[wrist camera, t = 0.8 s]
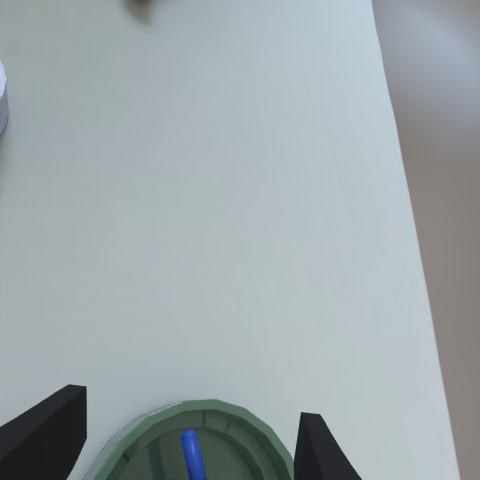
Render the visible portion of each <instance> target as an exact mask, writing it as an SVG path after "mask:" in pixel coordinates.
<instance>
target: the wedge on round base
mask: <svg viewBox="0 0 480 480" xmlns="http://www.w3.org/2000/svg"><path fill="white" fill-rule="evenodd" d="M7 119H8V102H7V90H6V78H5V72H4V69H3V66H2V64H1V62H0V134H1V133H2V131H3V129H4V128H5V126H6V123H7Z"/></svg>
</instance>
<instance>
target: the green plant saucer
mask: <svg viewBox="0 0 480 480" xmlns="http://www.w3.org/2000/svg"><path fill="white" fill-rule="evenodd" d="M188 429H191V430H194V431H195V432H196V434H197V437H198V442H199V446H200V451H201V455H202V460H203V464H204V469H205V473H206V478H207V480H294V462H293V459H292V457H291V454H290V453H289V452H288V450H287V449H286V448H285V446H284V445H283V443H282V442H281V441H280V439H279V438H278V436H277V435H276V434H275V432H274V431H273V430H272V428H270V426H268V425H267V424H266V423H264V422H263V421H262V420H260V419H259V418H258V417H256V416H255V415H254V414H252V413H251V412H249V411H248V410H247V409H245V408H243V407H240V406H236V405H233V404H230V403H226V402H223V401H220V400H217V399H207V400H191V401H181V402H177V403H173V404H169V405H166V406H163V407H161V408H159V409H156V410H154V411H152V412H149V413H147V414H145V415H142V416H140V417H137V418H136V419H135V420H133V421H132V422H131V423H130V424H129V425H127V426H126V427H125V428H124V429H123V430H122V431H120V432H119V433H118V434H117V435H116V436H114V437H113V438H112V439H111V440H110V441H109V442H108V443H107V444H106V446H105V447H104V448H103V450H102V451H101V453H100V454H99V456H98V457H97V459H96V460H95V462H94V463H93V465H92V466H91V468H90V469H89V471H88V472H87V474H86V475H85V477H84V479H83V480H189V475H188V470H187V465H186V461H185V456H184V451H183V446H182V442H181V436H182V434H183V432H184V431H186V430H188Z"/></svg>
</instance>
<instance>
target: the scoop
mask: <svg viewBox="0 0 480 480" xmlns="http://www.w3.org/2000/svg"><path fill="white" fill-rule="evenodd" d="M181 442H182V446H183V451H184V456H185V461H186V465H187V470H188V475H189V480H207V478H206V473H205V469H204V464H203V460H202V455H201V451H200V446H199V442H198V437H197V434H196V432H195V431H194V430H191V429H188V430H186V431H184V432H183V434H182V436H181Z"/></svg>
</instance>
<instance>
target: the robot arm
mask: <svg viewBox="0 0 480 480" xmlns="http://www.w3.org/2000/svg"><path fill="white" fill-rule="evenodd" d="M86 439H87V390H86V386H78V385H70V384H69V385H67V386H65V387H63V388H62V389H60V390H59V391H57V392H55V393H54V394H52V395H51V396H49V397H48V398H46V399H45V400H43V401H42V402H40V403H38V404H37V405H35V406H34V407H32V408H31V409H29V410H27V411H26V412H24V413H23V414H21V415H19V416H18V417H16V418H15V419H13V420H11V421H10V422H8V423H6V424H4V425H3V426H1V427H0V480H66V479H67V478H68V476H69V474H70V473H71V471H72V469H73V467H74V465H75V463H76V461H77V459H78V457H79V455H80V452H81V450H82V448H83V446H84V443H85V441H86ZM294 480H362V479H361V478H360V476H359V475H358V474H357V472H356V471H355V469H354V468H353V467H352V465H351V464H350V462H349V461H348V459H347V458H346V456H345V455H344V453H343V452H342V450H341V448H340V447H339V445H338V444H337V442H336V440H335V439H334V437H333V435H332V434H331V432H330V430H329V429H328V427H327V425H326V423H325V421H324V420H323V418H322V416H321V415H320V414H313V413H305V412H301V417H300V423H299V430H298V437H297V444H296V451H295V457H294Z"/></svg>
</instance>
